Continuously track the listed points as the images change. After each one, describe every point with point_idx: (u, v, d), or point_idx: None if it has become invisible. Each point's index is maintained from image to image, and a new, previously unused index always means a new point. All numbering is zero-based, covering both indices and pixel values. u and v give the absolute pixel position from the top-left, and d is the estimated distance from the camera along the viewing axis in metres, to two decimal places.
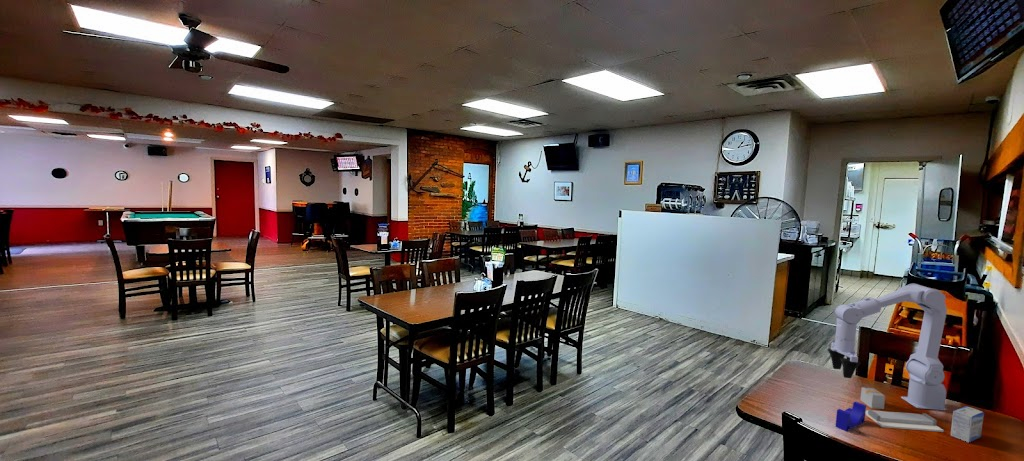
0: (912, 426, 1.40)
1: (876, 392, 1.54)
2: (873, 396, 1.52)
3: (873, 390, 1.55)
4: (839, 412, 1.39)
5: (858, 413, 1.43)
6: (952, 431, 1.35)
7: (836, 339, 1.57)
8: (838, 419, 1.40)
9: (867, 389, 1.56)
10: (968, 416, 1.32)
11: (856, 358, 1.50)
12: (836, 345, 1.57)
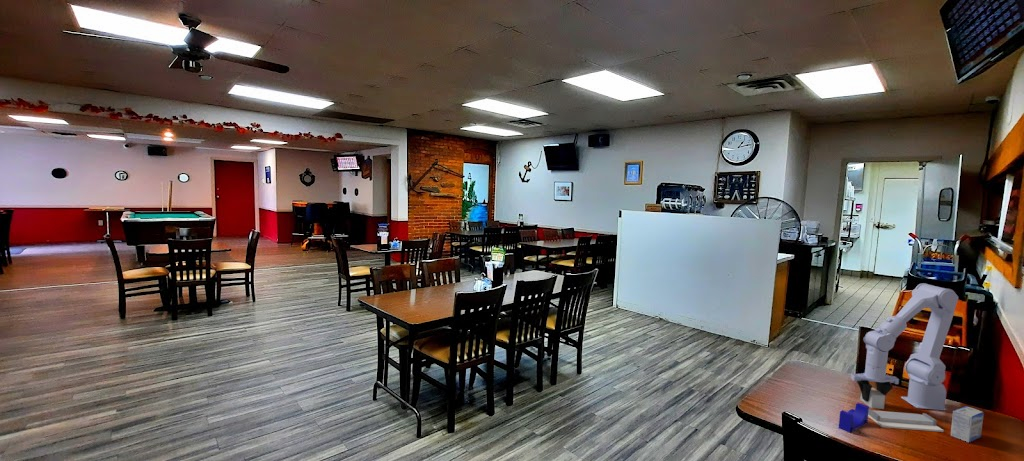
0: (912, 426, 1.40)
1: (876, 392, 1.54)
2: (873, 396, 1.52)
3: (873, 390, 1.55)
4: (842, 413, 1.39)
5: (861, 414, 1.42)
6: (952, 431, 1.35)
7: None
8: (841, 420, 1.39)
9: None
10: (968, 416, 1.32)
11: (853, 377, 1.55)
12: None
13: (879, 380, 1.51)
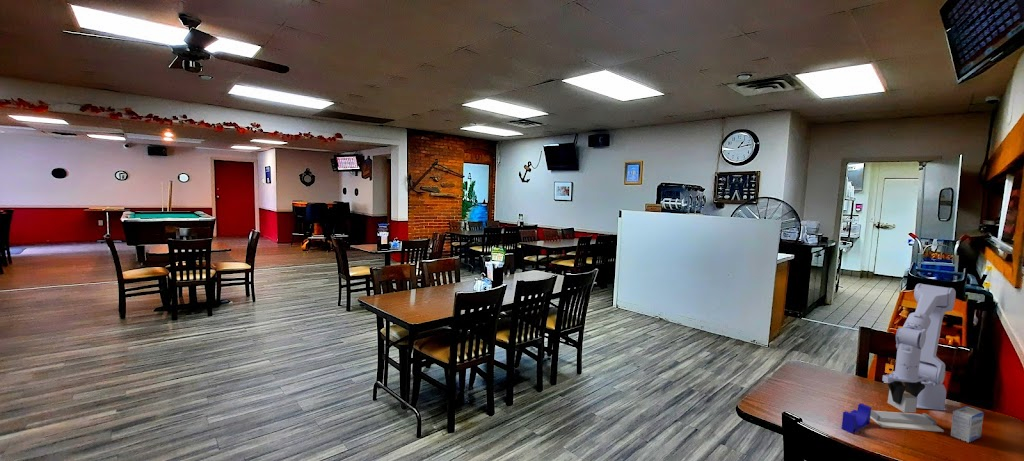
0: (912, 426, 1.40)
1: (907, 394, 1.43)
2: (906, 399, 1.40)
3: None
4: (845, 414, 1.38)
5: (863, 415, 1.42)
6: (952, 431, 1.35)
7: None
8: (844, 421, 1.38)
9: None
10: (968, 416, 1.32)
11: (886, 378, 1.42)
12: None
13: (913, 380, 1.39)
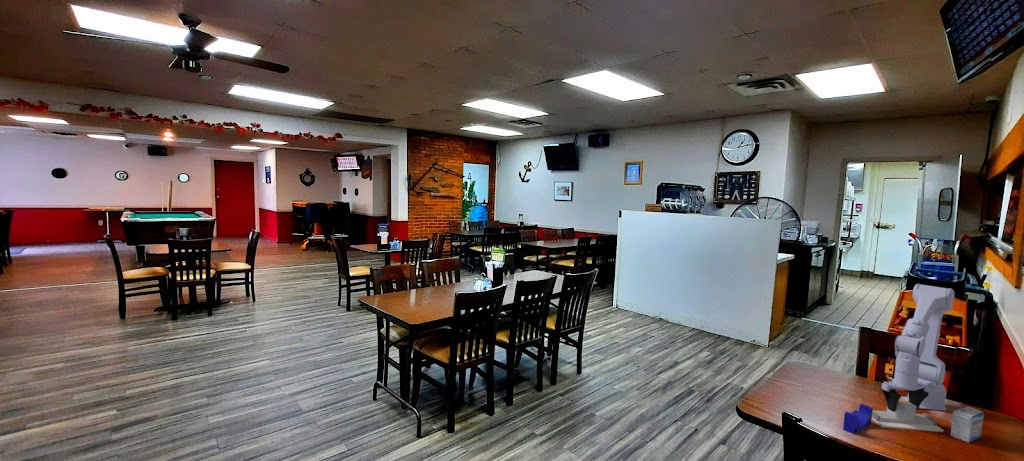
0: (912, 426, 1.40)
1: (905, 402, 1.43)
2: (905, 407, 1.41)
3: (901, 400, 1.45)
4: (847, 415, 1.38)
5: (865, 415, 1.42)
6: (952, 431, 1.35)
7: None
8: (846, 422, 1.38)
9: None
10: (968, 416, 1.32)
11: (885, 386, 1.42)
12: None
13: (912, 388, 1.40)
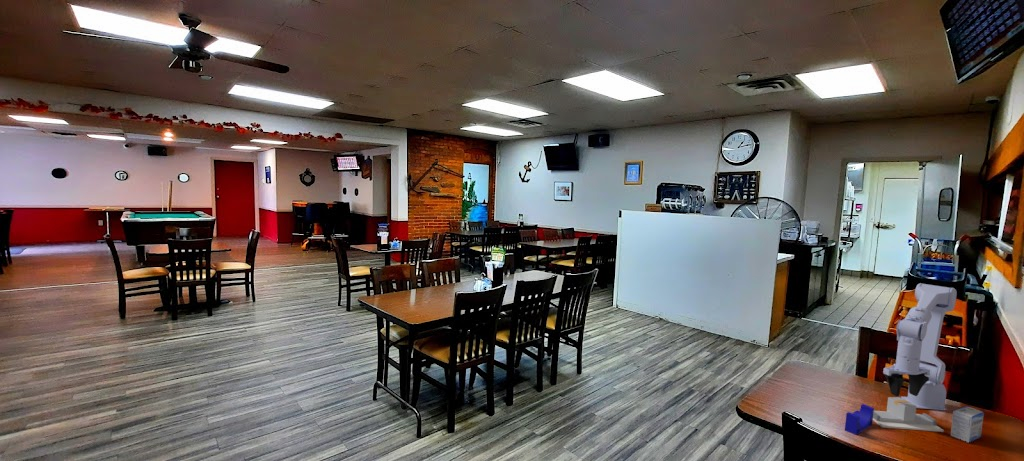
0: (912, 426, 1.40)
1: (905, 402, 1.43)
2: (905, 407, 1.41)
3: (901, 400, 1.45)
4: (849, 415, 1.37)
5: (866, 416, 1.41)
6: (952, 431, 1.35)
7: None
8: (848, 422, 1.38)
9: (895, 399, 1.45)
10: (968, 416, 1.32)
11: (887, 371, 1.41)
12: None
13: (914, 372, 1.39)
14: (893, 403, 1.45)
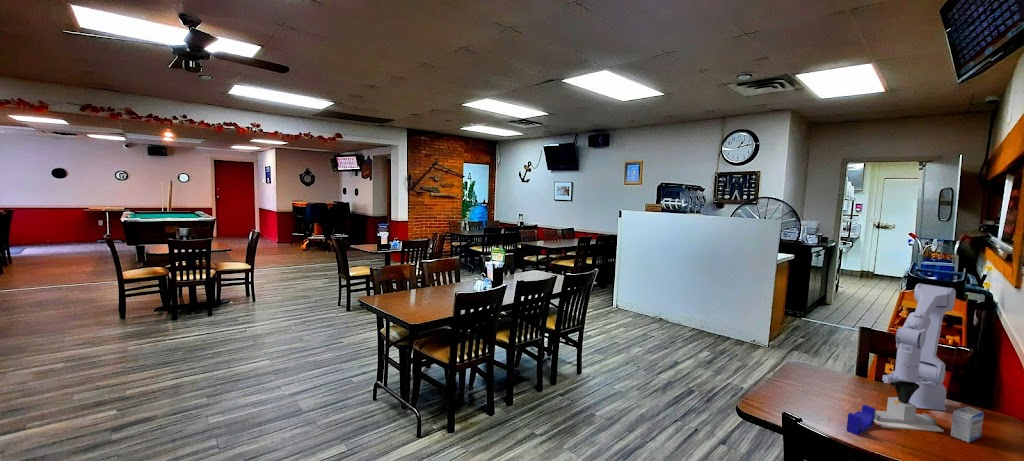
0: (912, 426, 1.40)
1: None
2: (905, 407, 1.41)
3: None
4: (850, 416, 1.37)
5: (868, 416, 1.41)
6: (952, 431, 1.35)
7: None
8: (849, 423, 1.37)
9: (895, 399, 1.45)
10: (968, 416, 1.32)
11: (886, 378, 1.42)
12: None
13: (913, 380, 1.39)
14: (893, 403, 1.45)
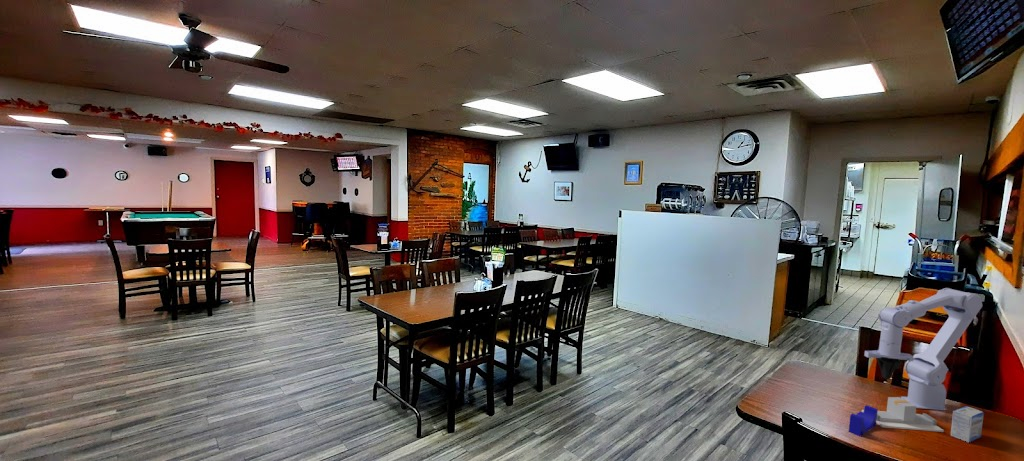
0: (912, 426, 1.40)
1: (905, 402, 1.43)
2: (905, 407, 1.41)
3: (901, 400, 1.45)
4: (853, 417, 1.37)
5: (870, 417, 1.41)
6: (952, 431, 1.35)
7: None
8: (851, 424, 1.37)
9: (895, 399, 1.45)
10: (968, 416, 1.32)
11: (867, 353, 1.53)
12: None
13: (894, 356, 1.50)
14: (893, 403, 1.45)
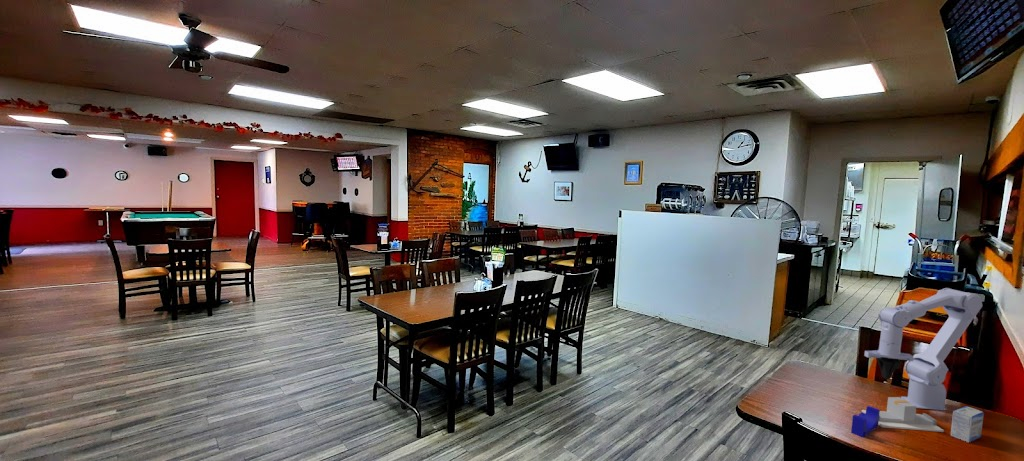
0: (912, 426, 1.40)
1: (905, 402, 1.43)
2: (905, 407, 1.41)
3: (901, 400, 1.45)
4: (855, 418, 1.36)
5: (872, 418, 1.40)
6: (952, 431, 1.35)
7: None
8: (854, 425, 1.36)
9: (895, 399, 1.45)
10: (968, 416, 1.32)
11: (867, 353, 1.53)
12: None
13: (894, 356, 1.50)
14: (893, 403, 1.45)
